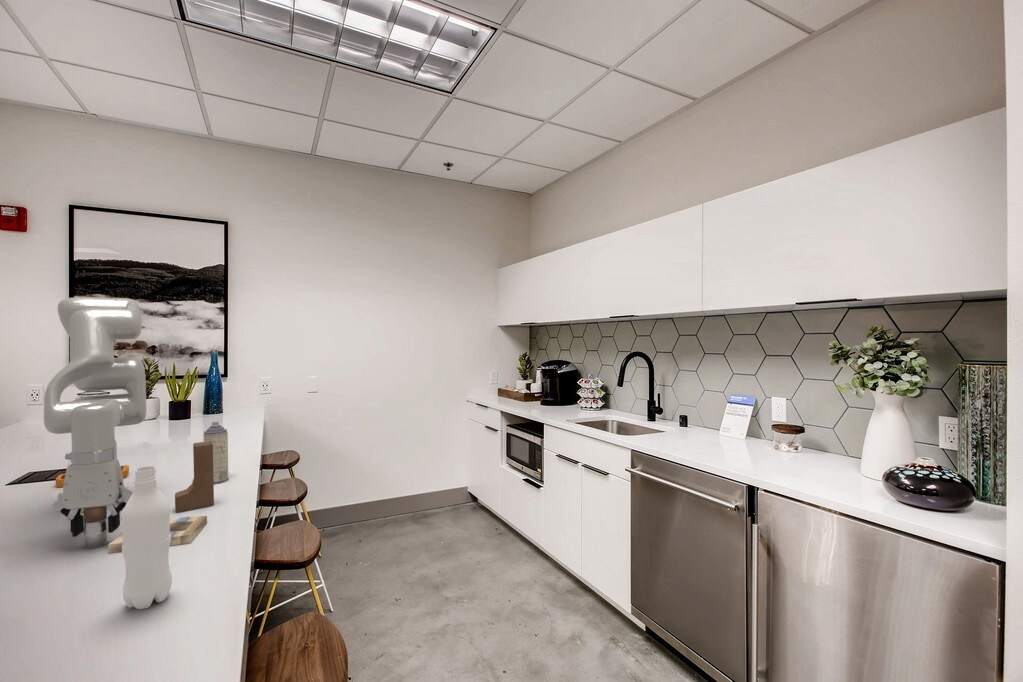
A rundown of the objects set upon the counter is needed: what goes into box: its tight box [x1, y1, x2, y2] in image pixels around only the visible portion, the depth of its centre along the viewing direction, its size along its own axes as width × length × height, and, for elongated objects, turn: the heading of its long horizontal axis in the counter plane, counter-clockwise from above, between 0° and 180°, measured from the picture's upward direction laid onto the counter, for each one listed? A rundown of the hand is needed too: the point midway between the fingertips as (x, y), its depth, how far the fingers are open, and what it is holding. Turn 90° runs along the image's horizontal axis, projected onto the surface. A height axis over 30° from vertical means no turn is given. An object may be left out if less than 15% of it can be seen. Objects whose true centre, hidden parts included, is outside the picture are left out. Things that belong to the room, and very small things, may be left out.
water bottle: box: [120, 465, 173, 610], centre depth 86 cm, size 7×7×25 cm
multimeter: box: [55, 464, 130, 489], centre depth 156 cm, size 9×18×3 cm, turn 126°
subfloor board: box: [107, 515, 208, 554], centre depth 113 cm, size 16×12×2 cm
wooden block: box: [174, 441, 215, 513], centre depth 132 cm, size 9×4×18 cm, turn 127°
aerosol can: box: [203, 420, 229, 485], centre depth 155 cm, size 7×7×20 cm
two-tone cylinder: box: [83, 506, 109, 550], centre depth 109 cm, size 4×4×12 cm
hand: (95, 531), depth 109 cm, fingers open, 6 cm apart
